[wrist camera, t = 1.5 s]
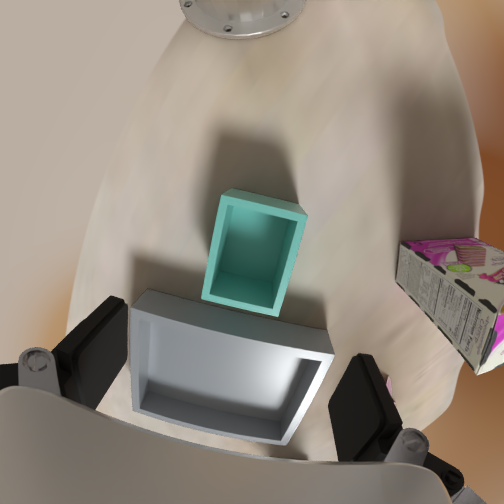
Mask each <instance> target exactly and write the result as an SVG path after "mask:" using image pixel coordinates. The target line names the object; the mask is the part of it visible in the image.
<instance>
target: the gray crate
mask: <svg viewBox="0 0 504 504" xmlns="http://www.w3.org/2000/svg"><path fill="white" fill-rule="evenodd" d="M334 356H335V353H334V350H333V347H332V344H331V341H330V337H329V334H328V331H327V330H322V329H317V328H312V327H306V326H301V325H296V324H291V323H286V322H281V321H277V320H272V319H267V318H263V317H258V316H254V315H249V314H245V313H240V312H236V311H232V310H228V309H224V308H219V307H215V306H211V305H207V304H203V303H199V302H195V301H192V300H188V299H184V298H180V297H177V296H173V295H169V294H166V293H162V292H158V291H155V290H151V289H148V288H147V290H146V291H145V292H144V293H143V294H142V295H141V296H140V297H139V299H138V300H137V301H136V302H135V303H134V304H133V305H132V307H131V314H130V368H131V392H132V407H133V411H135V412H138V413H141V414H144V415H147V416H150V417H153V418H156V419H159V420H162V421H166V422H169V423H173V424H176V425H180V426H183V427H187V428H191V429H195V430H199V431H203V432H207V433H212V434H216V435H221V436H226V437H231V438H236V439H242V440H248V441H254V442H261V443H268V444H276V445H285V446H286V445H287V443H288V442H289V440H290V438H291V437H292V435H293V433H294V432H295V430H296V428H297V427H298V425H299V423H300V421H301V420H302V418H303V416H304V414H305V412H306V411H307V409H308V407H309V405H310V403H311V401H312V400H313V398H314V396H315V394H316V392H317V390H318V388H319V386H320V384H321V382H322V380H323V378H324V376H325V374H326V372H327V370H328V368H329V366H330V364H331V362H332V360H333V358H334Z"/></svg>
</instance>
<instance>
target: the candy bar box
mask: <svg viewBox="0 0 504 504" xmlns="http://www.w3.org/2000/svg"><path fill="white" fill-rule="evenodd" d="M396 283H397V284H398V285H399V286H400V287H401V288H402V289H403V290H404V292H405V293H406V294H407V295H408V296H409V297H410V298H411V299H412V300H413V301H414V302H415V303H416V304H417V305H418V306H419V307H420V309H421V310H422V311H423V312H424V313H425V314H426V315H427V316H428V317H429V318H430V320H431V321H432V322H433V323H434V324H435V325H436V327H437V328H438V329H439V330H440V331H441V332H442V333H443V334H444V336H445V337H446V338H447V339H448V340H449V341H450V343H451V344H452V345H453V346H454V348H455V349H456V350H457V351H458V352H459V353H460V355H461V356H462V357H463V359H464V360H465V361H466V362H467V363H468V364H469V366H470V367H471V368H472V370H473V371H474V372H475V374H476V375H479V374H482V373H485V372H487V371H490V370H492V369H495V368H498V367H500V366H503V365H504V251H502V250H500V249H498V248H495V247H494V246H491V245H489V244H487V243H485V242H483V241H481V240H479V239H477V238H475V237H474V238H457V239H440V240H421V241H401V242H400V244H399V260H398V268H397V277H396Z"/></svg>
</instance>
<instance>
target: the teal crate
mask: <svg viewBox="0 0 504 504" xmlns="http://www.w3.org/2000/svg"><path fill="white" fill-rule="evenodd" d="M307 217H308V215H307V214H306V213H305V211H304V210H303V209H302V207H301V206H300V205H299V204H296V203H292V202H288V201H284V200H280V199H276V198H272V197H268V196H264V195H260V194H255V193H251V192H247V191H242V190H238V189H234V188H231V189H229V190H228V191H226V192H225V193H223V194H222V195H221V198H220V203H219V208H218V212H217V217H216V222H215V227H214V232H213V237H212V242H211V247H210V252H209V258H208V263H207V268H206V274H205V279H204V285H203V290H202V296H201V299H203V300H207V301H211V302H215V303H219V304H223V305H227V306H232V307H236V308H240V309H245V310H249V311H253V312H258V313H262V314H267V315H271V316H276V317H278V315H279V312H280V309H281V306H282V303H283V299H284V296H285V293H286V290H287V286H288V283H289V280H290V276H291V273H292V270H293V266H294V263H295V259H296V256H297V252H298V249H299V245H300V242H301V238H302V235H303V231H304V228H305V224H306V220H307Z"/></svg>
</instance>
